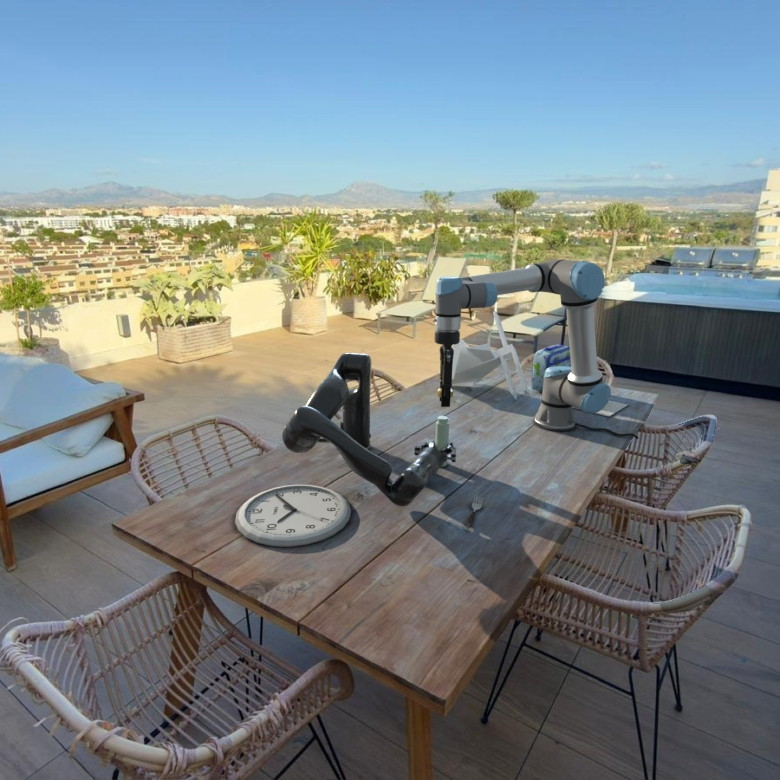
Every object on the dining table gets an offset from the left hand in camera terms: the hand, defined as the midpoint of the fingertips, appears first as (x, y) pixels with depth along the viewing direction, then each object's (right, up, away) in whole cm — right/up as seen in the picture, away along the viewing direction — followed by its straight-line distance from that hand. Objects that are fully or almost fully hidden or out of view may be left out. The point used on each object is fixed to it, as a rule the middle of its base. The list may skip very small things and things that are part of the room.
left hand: (444, 443), depth 169 cm
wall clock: (-43, -16, -31) cm, 55 cm away
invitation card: (+74, +10, +57) cm, 94 cm away
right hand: (0, +13, -7) cm, 15 cm away
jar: (-1, -7, -1) cm, 7 cm away
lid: (0, +17, -8) cm, 19 cm away
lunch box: (+60, +18, +80) cm, 102 cm away
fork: (+4, -16, -31) cm, 35 cm away
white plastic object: (+24, +16, +74) cm, 79 cm away
